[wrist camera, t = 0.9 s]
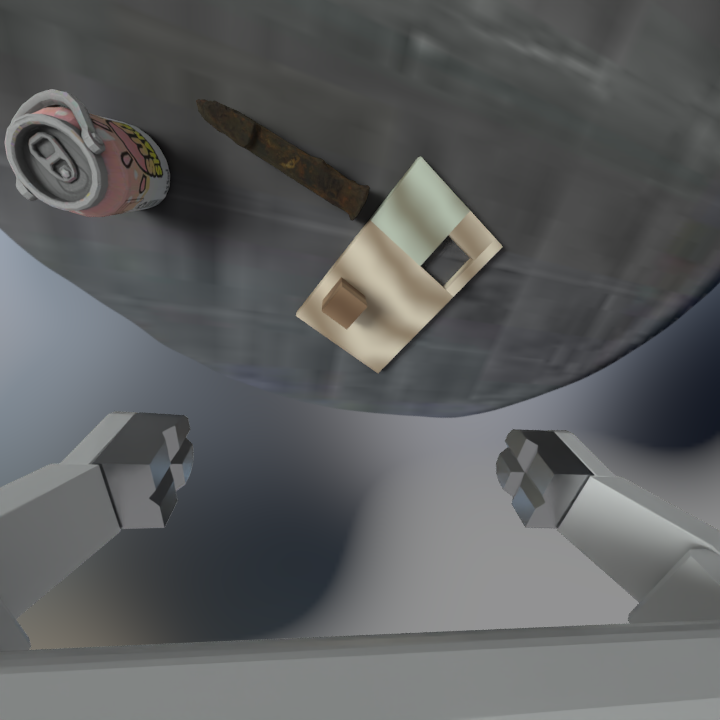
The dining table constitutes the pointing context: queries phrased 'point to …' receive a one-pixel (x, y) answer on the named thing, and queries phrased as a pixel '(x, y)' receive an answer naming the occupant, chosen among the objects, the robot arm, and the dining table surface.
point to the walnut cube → (344, 303)
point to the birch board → (401, 267)
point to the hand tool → (286, 157)
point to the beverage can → (83, 158)
